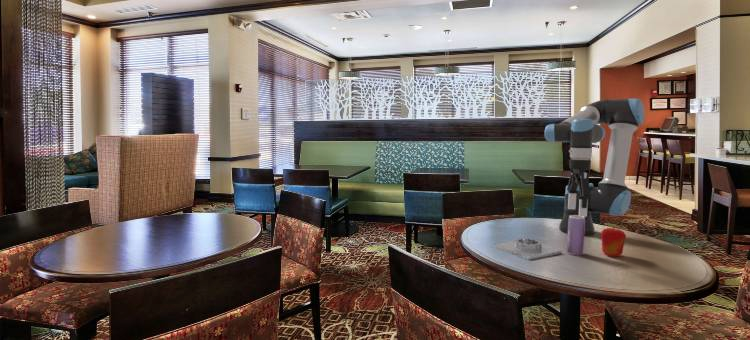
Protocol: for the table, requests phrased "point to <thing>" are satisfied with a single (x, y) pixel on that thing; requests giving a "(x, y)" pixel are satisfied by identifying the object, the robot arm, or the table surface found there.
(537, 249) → the duct flange
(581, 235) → the beverage can
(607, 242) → the red bell pepper
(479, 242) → the table surface
